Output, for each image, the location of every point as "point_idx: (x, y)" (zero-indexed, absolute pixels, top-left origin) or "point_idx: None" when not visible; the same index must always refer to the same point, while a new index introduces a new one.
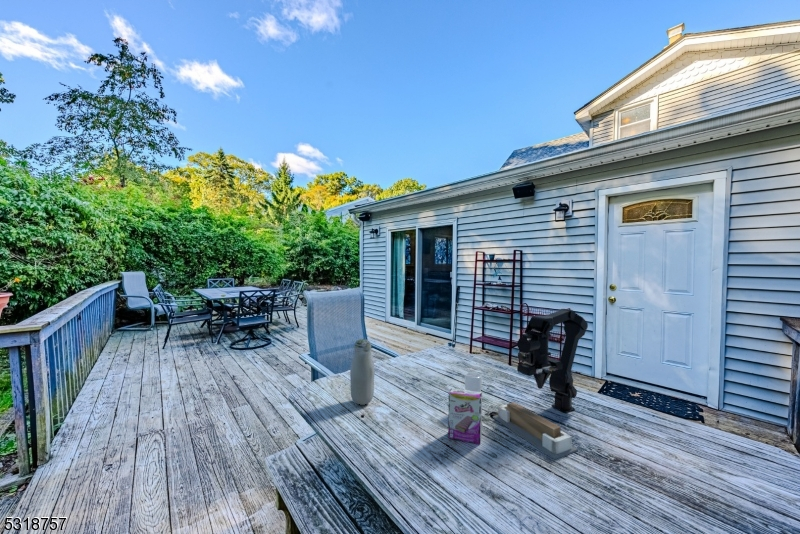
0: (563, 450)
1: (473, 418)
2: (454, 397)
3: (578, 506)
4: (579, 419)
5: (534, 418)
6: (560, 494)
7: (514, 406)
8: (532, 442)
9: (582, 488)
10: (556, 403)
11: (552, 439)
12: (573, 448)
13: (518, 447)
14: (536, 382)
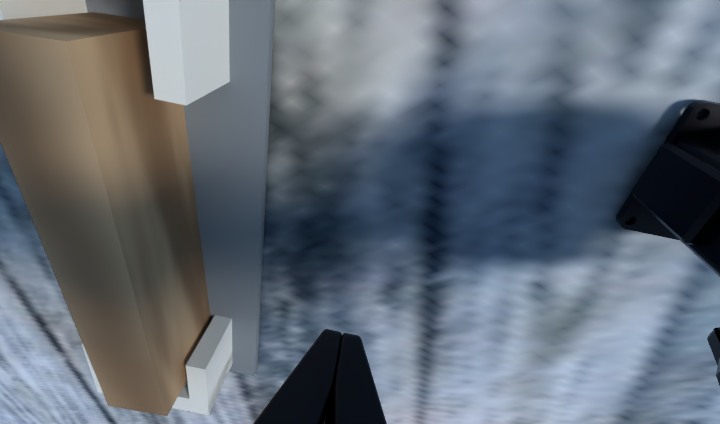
0: None
1: None
2: None
3: (45, 418)
4: (575, 300)
5: (76, 314)
6: (25, 390)
7: (19, 117)
8: None
9: (104, 412)
10: (673, 181)
11: (97, 381)
12: (240, 366)
13: (15, 230)
14: (266, 409)
